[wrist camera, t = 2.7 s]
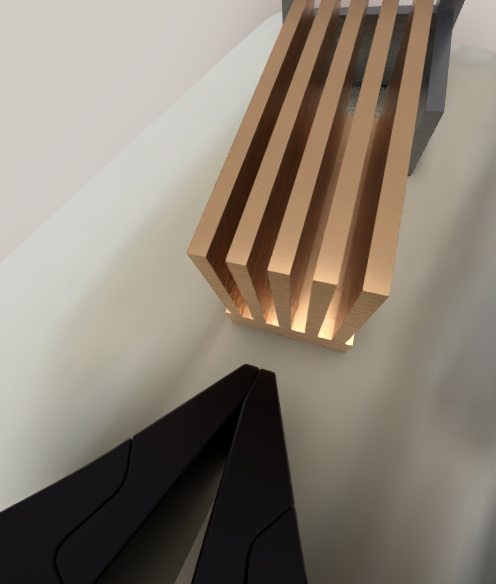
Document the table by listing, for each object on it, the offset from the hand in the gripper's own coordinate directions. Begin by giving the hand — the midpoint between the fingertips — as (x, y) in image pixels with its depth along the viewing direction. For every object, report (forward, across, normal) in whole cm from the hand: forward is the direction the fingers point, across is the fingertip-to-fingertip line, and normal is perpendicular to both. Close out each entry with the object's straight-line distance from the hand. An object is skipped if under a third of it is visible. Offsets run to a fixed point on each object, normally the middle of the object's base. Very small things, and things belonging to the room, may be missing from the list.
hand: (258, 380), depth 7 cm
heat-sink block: (+12, 0, -2) cm, 12 cm away
